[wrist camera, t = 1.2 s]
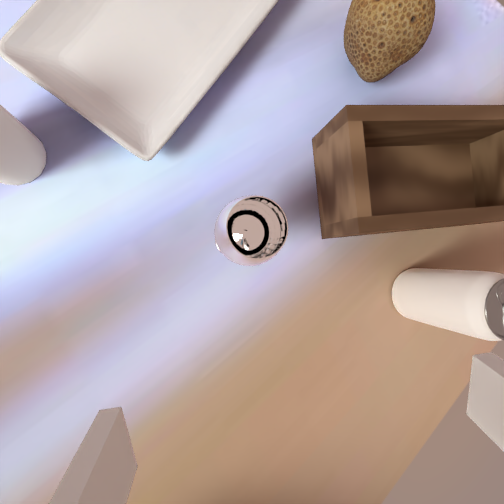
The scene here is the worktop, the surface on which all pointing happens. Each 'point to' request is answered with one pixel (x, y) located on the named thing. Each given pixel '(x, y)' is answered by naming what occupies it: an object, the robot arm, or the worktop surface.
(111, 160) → the worktop surface
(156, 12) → the tray
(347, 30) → the natural sponge
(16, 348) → the worktop surface
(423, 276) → the can
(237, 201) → the wineglass
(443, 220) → the narrow open box
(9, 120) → the white cup
